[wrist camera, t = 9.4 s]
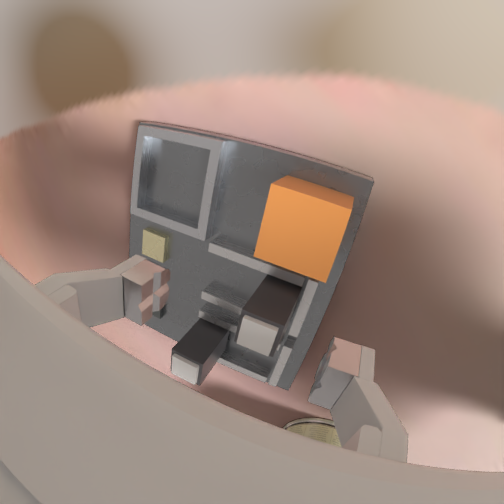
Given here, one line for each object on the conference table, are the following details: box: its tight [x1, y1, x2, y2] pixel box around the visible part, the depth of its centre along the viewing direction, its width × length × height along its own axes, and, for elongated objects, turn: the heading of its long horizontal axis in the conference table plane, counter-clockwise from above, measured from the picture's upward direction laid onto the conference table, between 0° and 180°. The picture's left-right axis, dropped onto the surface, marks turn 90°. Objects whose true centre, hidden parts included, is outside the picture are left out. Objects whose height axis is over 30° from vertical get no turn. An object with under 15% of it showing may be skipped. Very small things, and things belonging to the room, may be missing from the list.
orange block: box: [254, 175, 354, 283], centre depth 20 cm, size 5×5×4 cm
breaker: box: [171, 318, 229, 386], centre depth 26 cm, size 3×3×6 cm
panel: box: [129, 122, 374, 390], centre depth 27 cm, size 20×22×3 cm
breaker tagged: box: [234, 274, 303, 357], centre depth 22 cm, size 3×3×6 cm
